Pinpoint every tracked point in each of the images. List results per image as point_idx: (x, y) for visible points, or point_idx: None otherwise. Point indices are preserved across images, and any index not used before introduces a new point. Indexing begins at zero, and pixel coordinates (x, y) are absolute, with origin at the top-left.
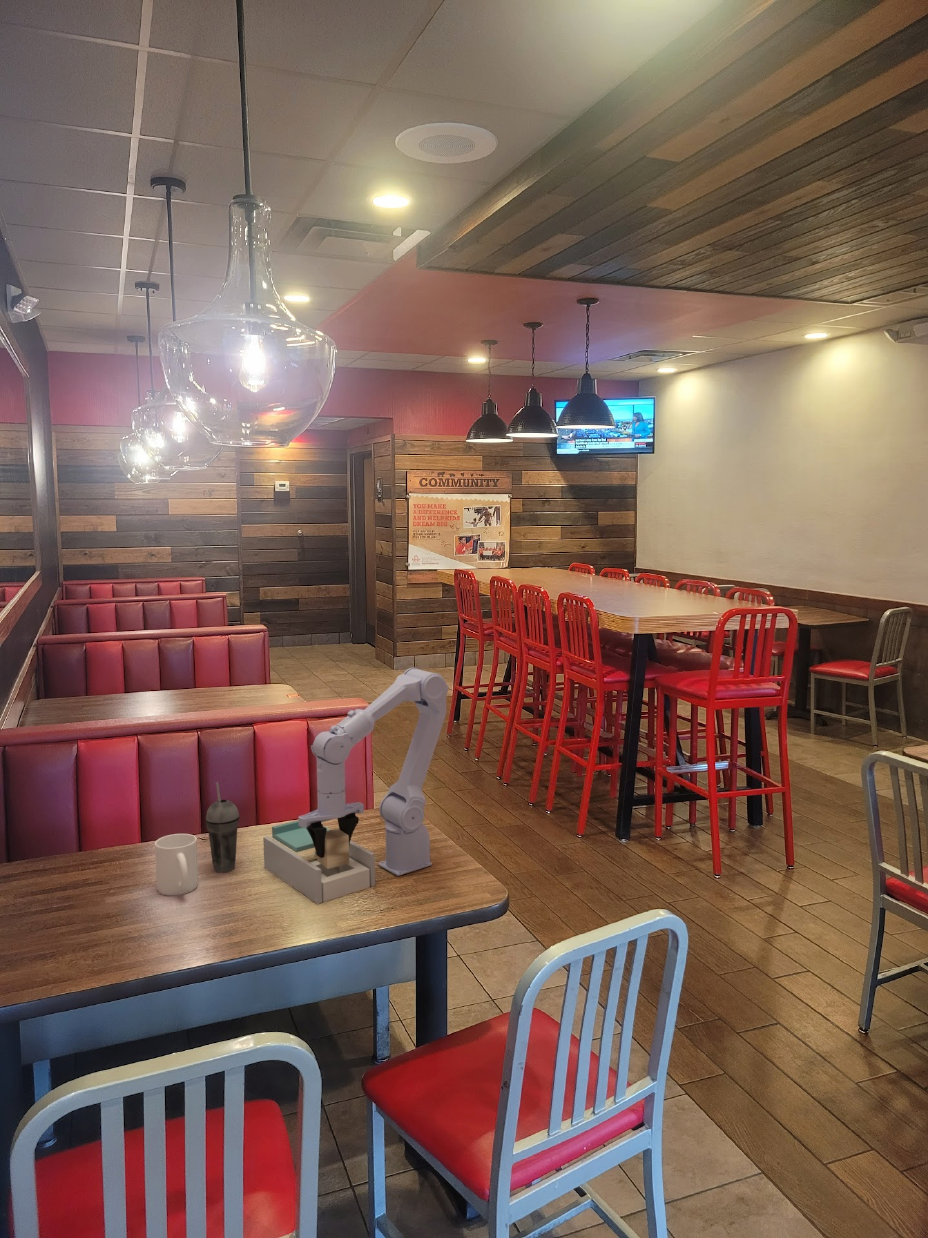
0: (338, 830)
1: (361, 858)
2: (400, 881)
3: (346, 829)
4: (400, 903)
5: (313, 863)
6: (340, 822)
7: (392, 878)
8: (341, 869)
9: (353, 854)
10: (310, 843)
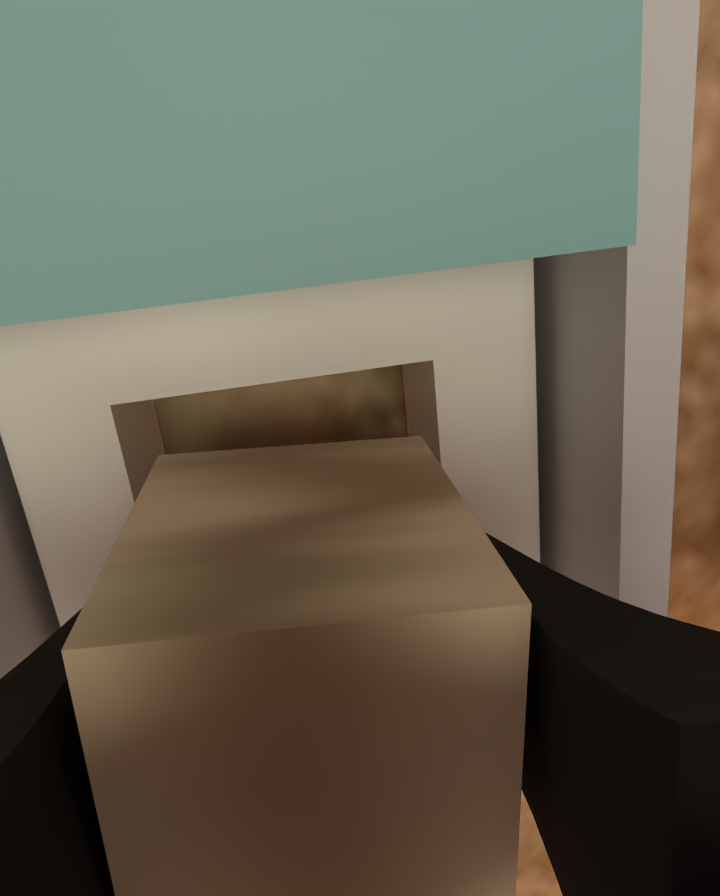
0: (491, 701)
1: (576, 579)
2: (695, 607)
3: (572, 877)
4: (523, 837)
5: (159, 335)
6: (609, 782)
7: (686, 545)
8: (418, 393)
9: (572, 446)
10: (97, 295)
